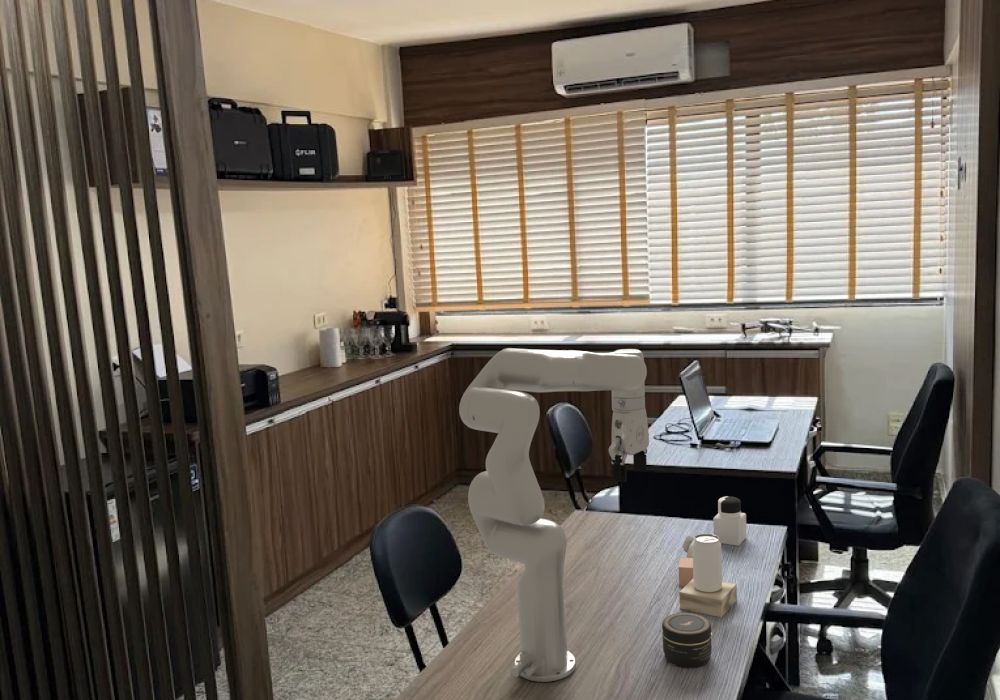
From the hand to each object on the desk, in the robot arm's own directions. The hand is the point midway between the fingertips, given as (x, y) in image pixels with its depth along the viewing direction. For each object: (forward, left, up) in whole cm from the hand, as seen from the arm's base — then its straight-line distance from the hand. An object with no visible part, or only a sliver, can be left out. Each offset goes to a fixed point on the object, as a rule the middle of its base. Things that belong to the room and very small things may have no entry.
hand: (630, 475), depth 197 cm
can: (+7, -15, -27) cm, 32 cm away
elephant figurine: (+28, -6, -31) cm, 42 cm away
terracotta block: (+17, -8, -31) cm, 36 cm away
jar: (-18, -21, -31) cm, 42 cm away
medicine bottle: (+47, -7, -31) cm, 57 cm away
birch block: (+7, -16, -31) cm, 35 cm away
